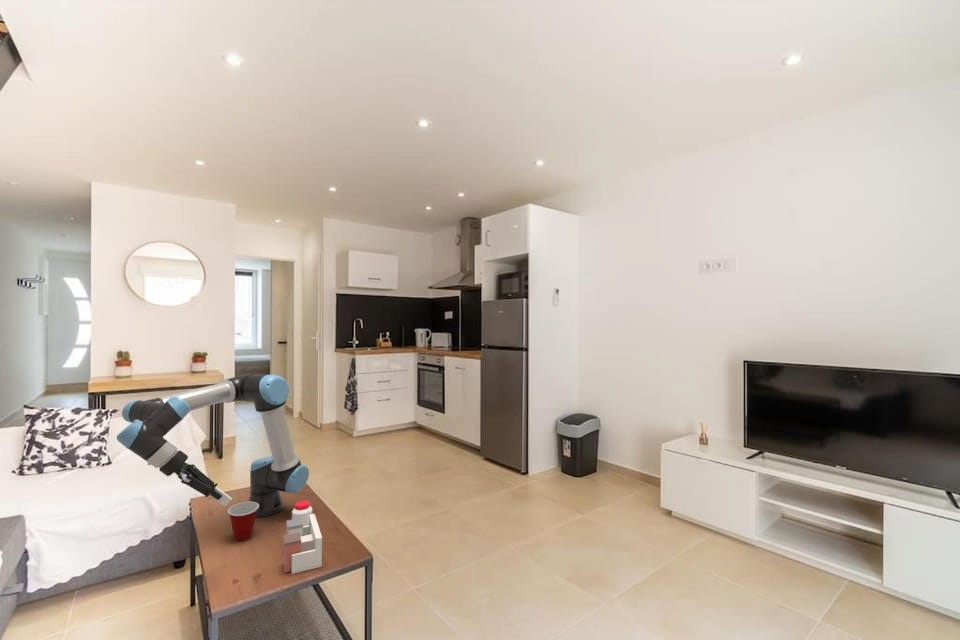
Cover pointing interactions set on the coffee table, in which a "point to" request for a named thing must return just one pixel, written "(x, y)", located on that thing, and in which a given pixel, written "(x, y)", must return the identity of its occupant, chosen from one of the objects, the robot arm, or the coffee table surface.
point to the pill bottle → (302, 511)
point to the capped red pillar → (290, 549)
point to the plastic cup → (243, 519)
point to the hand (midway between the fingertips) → (228, 502)
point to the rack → (309, 548)
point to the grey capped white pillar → (295, 526)
